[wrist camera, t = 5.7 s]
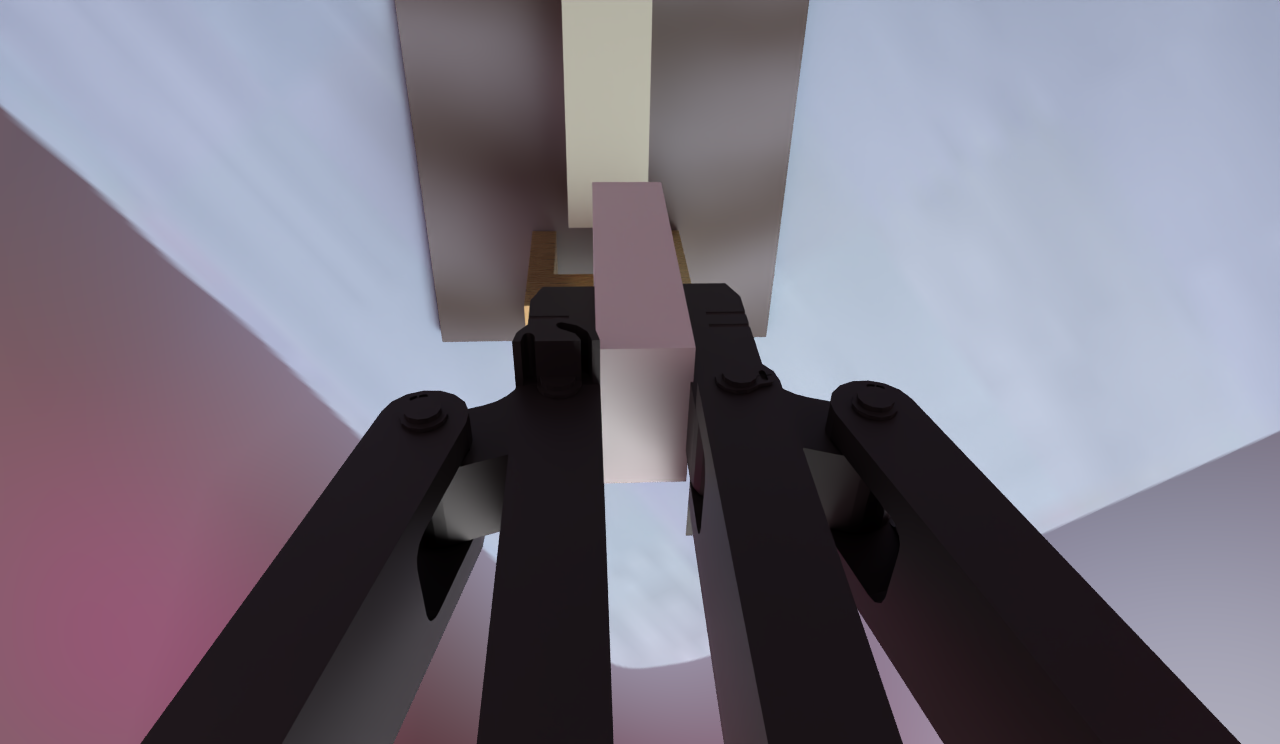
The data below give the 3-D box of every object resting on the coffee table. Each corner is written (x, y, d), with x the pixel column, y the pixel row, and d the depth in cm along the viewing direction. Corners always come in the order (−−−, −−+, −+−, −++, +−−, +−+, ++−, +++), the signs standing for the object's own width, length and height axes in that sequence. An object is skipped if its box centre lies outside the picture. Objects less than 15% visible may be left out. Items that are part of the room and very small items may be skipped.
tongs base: (312, -623, 21) (243, -736, 17) (879, -591, 22) (951, -689, 18) (444, 334, 37) (427, 401, 33) (763, 329, 38) (786, 394, 34)
